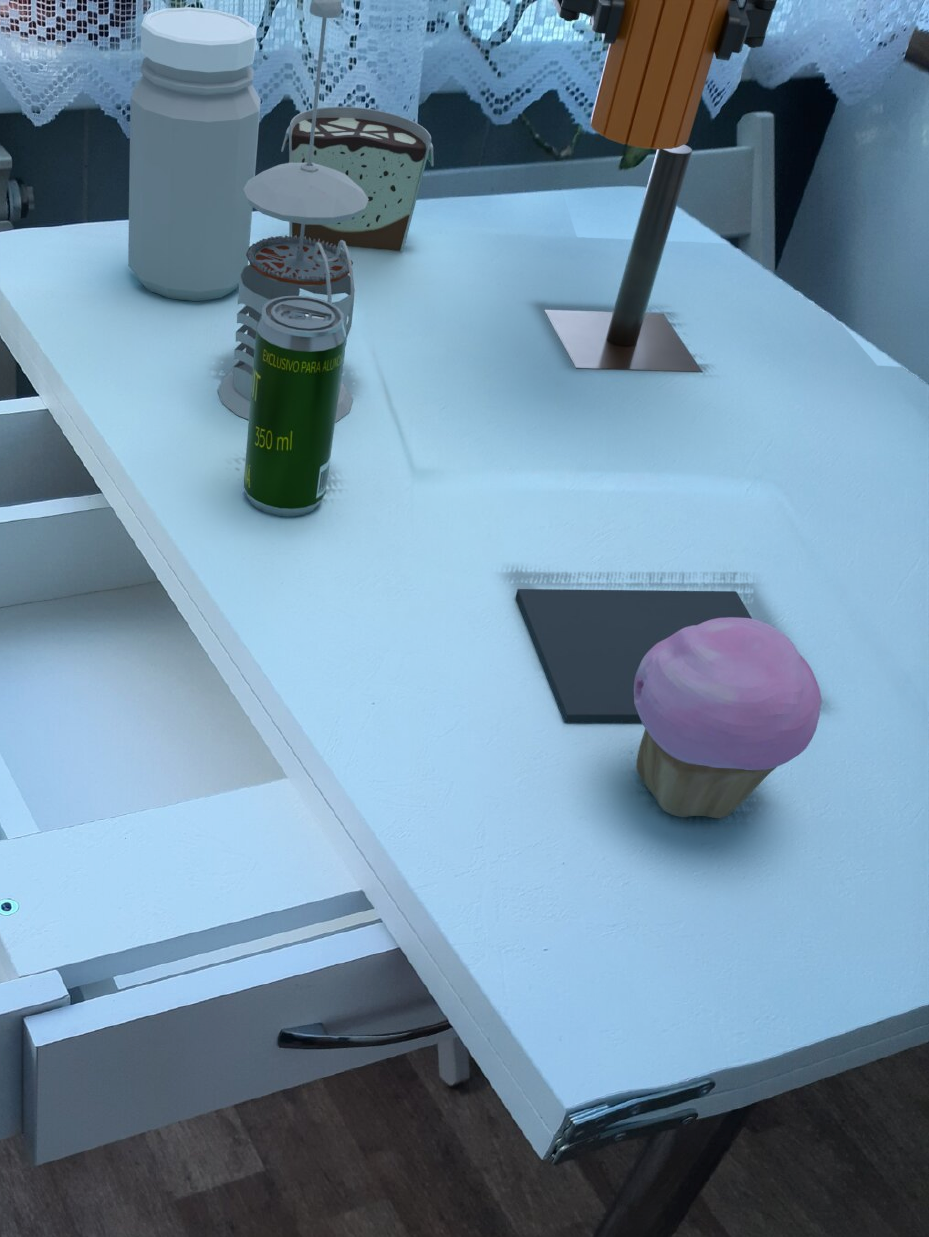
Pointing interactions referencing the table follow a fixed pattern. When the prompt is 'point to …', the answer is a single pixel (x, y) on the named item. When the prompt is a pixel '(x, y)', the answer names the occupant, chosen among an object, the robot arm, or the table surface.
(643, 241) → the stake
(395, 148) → the food container
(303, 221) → the french press
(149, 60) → the jar
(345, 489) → the table surface
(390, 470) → the table surface
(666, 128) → the orange hollow cylinder
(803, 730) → the cupcake
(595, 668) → the mat
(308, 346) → the beer can
